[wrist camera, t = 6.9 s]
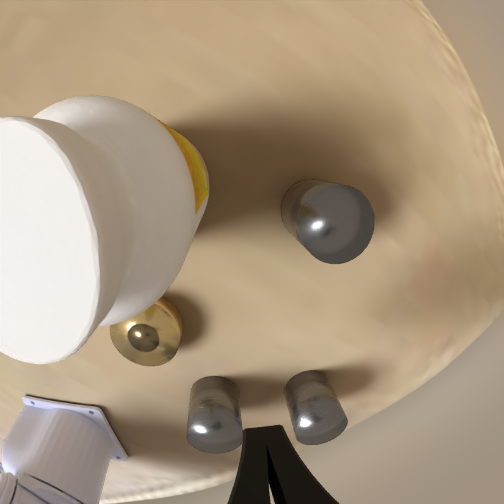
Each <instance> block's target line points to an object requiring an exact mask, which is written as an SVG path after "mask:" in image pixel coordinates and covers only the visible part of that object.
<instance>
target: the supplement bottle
mask: <svg viewBox="0 0 504 504" xmlns="http://www.w3.org/2000/svg"><path fill="white" fill-rule="evenodd" d="M209 189H210V184H209V175H208V171H207V167H206V165H205V162H204V160H203V158H202V156H201V154H200V153H199V151H198V150H197V149H196V148H195V146H194V145H193V144H192V143H191V142H190V141H188V140H187V139H186V138H185V137H183V136H182V135H181V134H179V133H178V132H176V131H175V130H173V129H172V128H170V127H169V126H167V125H166V124H164V123H163V122H161V121H160V120H158V119H156V118H155V117H153V116H152V115H151V114H149V113H148V112H146V111H144V110H143V109H141V108H139V107H137V106H135V105H133V104H131V103H129V102H126V101H124V100H120V99H117V98H113V97H107V96H99V95H87V96H78V97H73V98H69V99H65V100H62V101H60V102H57V103H55V104H53V105H51V106H49V107H47V108H45V109H44V110H42V111H41V112H39V113H38V114H37V115H35V116H34V117H33V118H32V117H22V116H5V117H0V351H1V352H2V353H4V354H6V355H8V356H10V357H12V358H14V359H17V360H20V361H23V362H27V363H34V364H48V363H54V362H57V361H60V360H63V359H65V358H67V357H69V356H71V355H72V354H74V353H75V352H76V351H78V350H79V349H80V348H81V347H82V346H83V345H84V344H85V342H86V341H87V340H88V338H89V337H90V336H91V335H92V333H93V332H94V331H95V329H96V328H97V327H98V326H107V325H113V324H117V323H120V322H123V321H126V320H128V319H130V318H132V317H135V316H137V315H138V314H140V313H142V312H143V311H145V310H146V309H147V308H149V307H150V306H152V305H153V304H154V303H155V302H156V301H157V300H158V299H160V298H161V297H162V296H163V294H164V293H165V292H166V291H167V289H168V288H169V287H170V285H171V284H172V283H173V281H174V280H175V278H176V276H177V274H178V273H179V271H180V269H181V267H182V265H183V262H184V260H185V258H186V255H187V253H188V250H189V247H190V245H191V242H192V240H193V237H194V235H195V232H196V230H197V228H198V225H199V223H200V221H201V218H202V216H203V214H204V211H205V209H206V206H207V202H208V198H209Z"/></svg>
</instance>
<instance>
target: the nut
mask: <svg viewBox="0 0 504 504" xmlns="http://www.w3.org/2000/svg"><path fill="white" fill-rule="evenodd" d="M181 333H182V319H181V316H180V314H179V312H178V310H177V309H176V307H175V306H174V305H173V304H172V303H171V302H170V301H169V300H167V299H166V298H164V297H161V298H160V299H158V300H157V301H156V302H155V303H154V304H153V305H152V306H150V307H149V308H147V309H146V310H145V311H143V312H142V313H140V314H138V315H137V316H135V317H132V318H130V319H128V320H126V321H123V322H120V323H117V324H113V325H110V336H111V339H112V342H113V344H114V346H115V347H116V349H117V350H118V351H119V352H120V353H121V354H122V355H123V356H124V357H125V358H127V359H128V360H130V361H132V362H134V363H136V364H139V365H143V366H159V365H162V364H165V363H167V362H168V361H170V360H171V359H172V358H173V357H174V356H175V354H176V353H177V350H178V347H179V342H180V338H181Z"/></svg>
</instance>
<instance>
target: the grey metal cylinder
mask: <svg viewBox="0 0 504 504" xmlns="http://www.w3.org/2000/svg"><path fill="white" fill-rule="evenodd" d="M281 217H282V221H283V223H284V225H285V227H286V228H287V230H288V231H289V232H290V233H291V234H292V235H293V236H294V237H295V238H296V239H297V240H298V241H299V242H300V243H301V244H302V245H303V246H304V247H305V248H306V249H307V250H308V251H309V252H310V253H311V254H312V255H313V256H314V257H315V258H317V259H318V260H320V261H322V262H325V263H329V264H341V263H345V262H348V261H351V260H353V259H354V258H356V257H357V256H359V255H360V254H361V253H362V252H363V251H364V250H365V248H366V247H367V245H368V244H369V242H370V240H371V238H372V235H373V231H374V213H373V209H372V207H371V204H370V203H369V201H368V199H367V198H366V197H365V196H364V195H363V194H362V193H361V192H360V191H358V190H357V189H355V188H353V187H350V186H346V185H341V184H336V183H330V182H324V181H318V180H304V181H301V182H298V183H297V184H295V185H294V186H292V187H291V188H290V189H289V190H288V191H287V193H286V194H285V196H284V198H283V201H282V205H281Z"/></svg>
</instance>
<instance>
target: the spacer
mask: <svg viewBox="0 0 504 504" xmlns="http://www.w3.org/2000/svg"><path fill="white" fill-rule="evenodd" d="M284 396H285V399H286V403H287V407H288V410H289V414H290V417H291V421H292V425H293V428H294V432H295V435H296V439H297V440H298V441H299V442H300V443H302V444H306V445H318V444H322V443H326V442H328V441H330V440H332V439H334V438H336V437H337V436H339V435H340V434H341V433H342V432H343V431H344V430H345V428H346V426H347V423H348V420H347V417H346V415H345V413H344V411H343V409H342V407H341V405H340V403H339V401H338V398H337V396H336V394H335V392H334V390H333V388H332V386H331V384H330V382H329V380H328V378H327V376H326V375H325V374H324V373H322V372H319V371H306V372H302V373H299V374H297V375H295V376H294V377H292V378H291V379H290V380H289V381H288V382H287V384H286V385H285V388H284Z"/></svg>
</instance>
